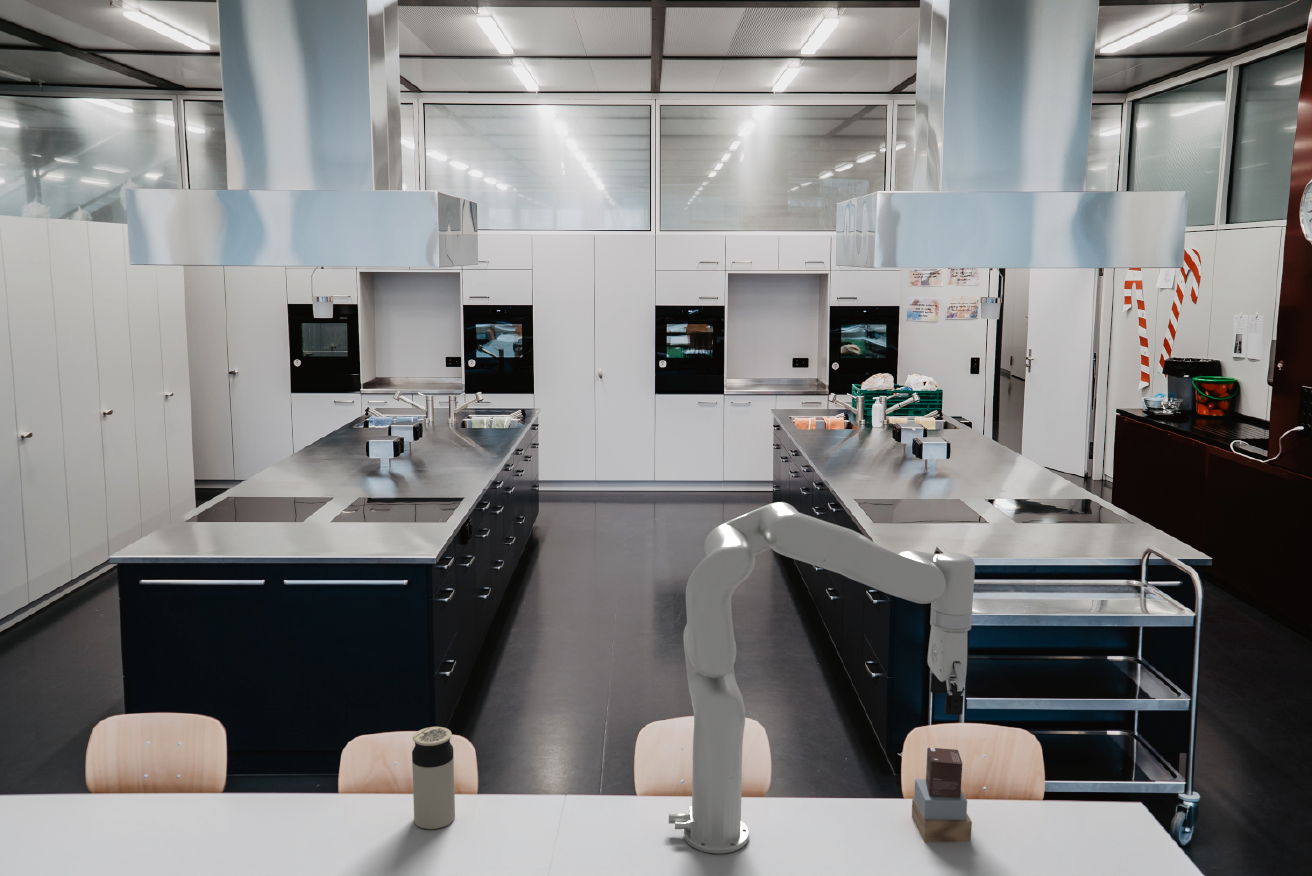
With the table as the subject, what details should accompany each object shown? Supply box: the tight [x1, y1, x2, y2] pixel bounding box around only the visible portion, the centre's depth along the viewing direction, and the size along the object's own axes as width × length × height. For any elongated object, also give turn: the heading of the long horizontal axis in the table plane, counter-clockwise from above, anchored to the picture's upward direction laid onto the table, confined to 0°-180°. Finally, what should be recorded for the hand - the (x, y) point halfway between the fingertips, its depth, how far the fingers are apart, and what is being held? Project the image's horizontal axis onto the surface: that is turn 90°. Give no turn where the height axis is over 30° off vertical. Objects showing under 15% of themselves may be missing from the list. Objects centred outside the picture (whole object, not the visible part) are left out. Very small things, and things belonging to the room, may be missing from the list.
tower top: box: [913, 778, 968, 820], centre depth 187 cm, size 8×8×4 cm
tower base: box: [911, 796, 973, 843], centre depth 188 cm, size 9×9×4 cm
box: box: [925, 747, 963, 798], centre depth 186 cm, size 6×6×7 cm
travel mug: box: [411, 726, 456, 830], centre depth 189 cm, size 8×8×18 cm
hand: (945, 702), depth 184 cm, fingers open, 9 cm apart
